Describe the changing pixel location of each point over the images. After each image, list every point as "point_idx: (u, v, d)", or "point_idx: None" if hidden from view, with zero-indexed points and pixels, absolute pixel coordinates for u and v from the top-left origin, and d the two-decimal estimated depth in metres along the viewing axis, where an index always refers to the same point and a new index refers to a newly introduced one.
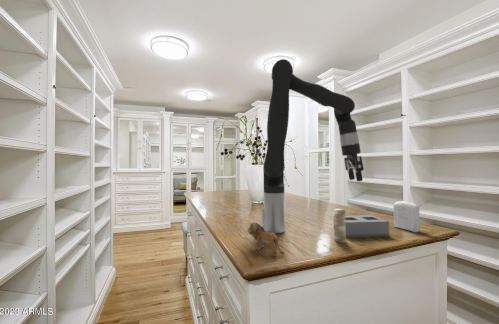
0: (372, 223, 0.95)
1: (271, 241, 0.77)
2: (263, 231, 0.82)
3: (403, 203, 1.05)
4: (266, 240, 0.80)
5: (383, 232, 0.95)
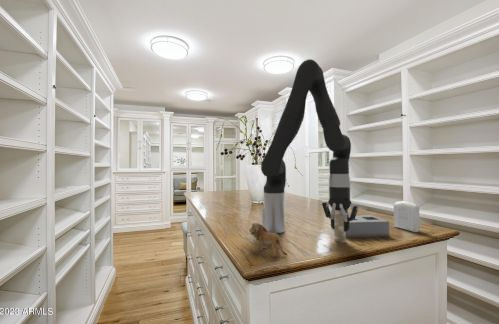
0: (372, 223, 0.95)
1: (274, 242, 0.76)
2: (265, 232, 0.81)
3: (403, 203, 1.05)
4: (268, 241, 0.79)
5: (383, 232, 0.95)
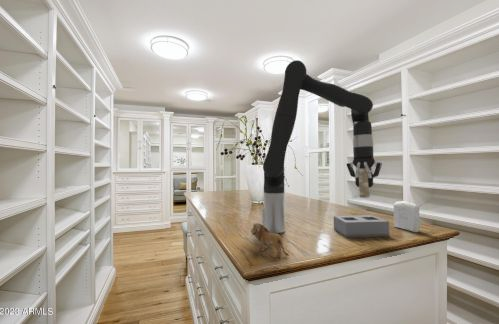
0: (372, 223, 0.95)
1: (275, 242, 0.76)
2: (267, 232, 0.81)
3: (403, 203, 1.05)
4: (270, 241, 0.79)
5: (383, 232, 0.95)
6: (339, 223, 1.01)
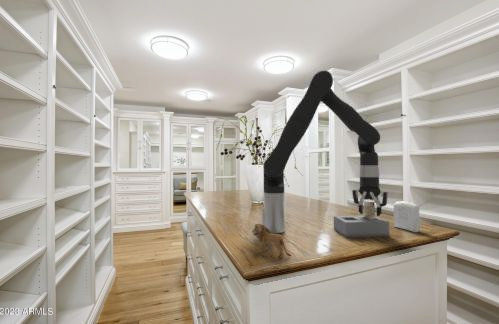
0: (372, 223, 0.95)
1: (277, 243, 0.75)
2: (268, 232, 0.80)
3: (403, 203, 1.05)
4: (272, 242, 0.78)
5: (383, 232, 0.95)
6: (339, 223, 1.01)
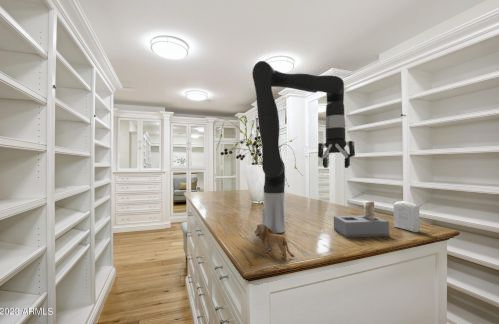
0: (372, 223, 0.95)
1: (280, 243, 0.75)
2: (271, 233, 0.79)
3: (403, 203, 1.05)
4: (274, 242, 0.77)
5: (383, 232, 0.95)
6: (339, 223, 1.01)
